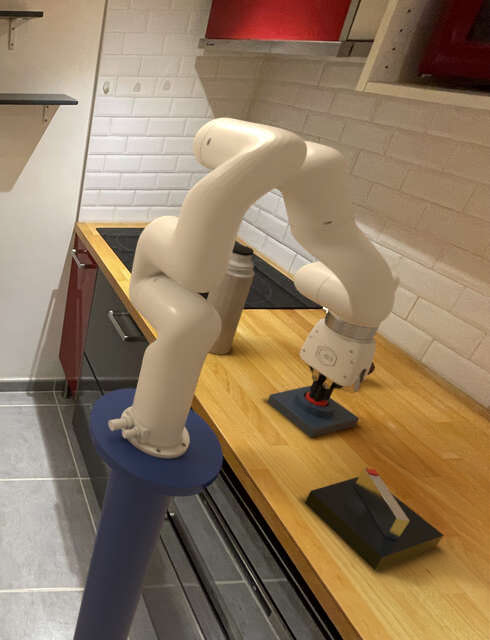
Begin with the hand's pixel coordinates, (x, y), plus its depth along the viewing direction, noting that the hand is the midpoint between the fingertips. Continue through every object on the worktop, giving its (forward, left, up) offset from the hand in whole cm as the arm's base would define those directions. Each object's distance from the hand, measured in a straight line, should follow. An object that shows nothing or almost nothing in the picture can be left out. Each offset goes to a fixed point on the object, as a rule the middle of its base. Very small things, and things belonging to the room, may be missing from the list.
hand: (317, 397), depth 93 cm
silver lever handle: (-14, -21, -1) cm, 25 cm away
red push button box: (0, 0, -4) cm, 4 cm away
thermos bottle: (-2, +25, -5) cm, 26 cm away
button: (0, 0, -2) cm, 2 cm away
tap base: (-14, -21, -4) cm, 26 cm away
